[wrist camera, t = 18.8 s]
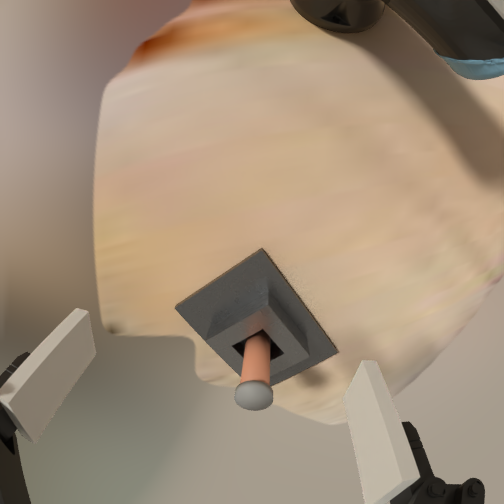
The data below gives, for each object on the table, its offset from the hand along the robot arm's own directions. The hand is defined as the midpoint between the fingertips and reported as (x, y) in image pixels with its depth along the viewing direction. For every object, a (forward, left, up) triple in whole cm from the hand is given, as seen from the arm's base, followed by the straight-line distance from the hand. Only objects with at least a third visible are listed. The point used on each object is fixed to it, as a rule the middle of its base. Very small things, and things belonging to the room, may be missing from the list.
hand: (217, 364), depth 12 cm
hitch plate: (+17, -11, -32) cm, 38 cm away
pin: (+17, -11, -30) cm, 37 cm away
